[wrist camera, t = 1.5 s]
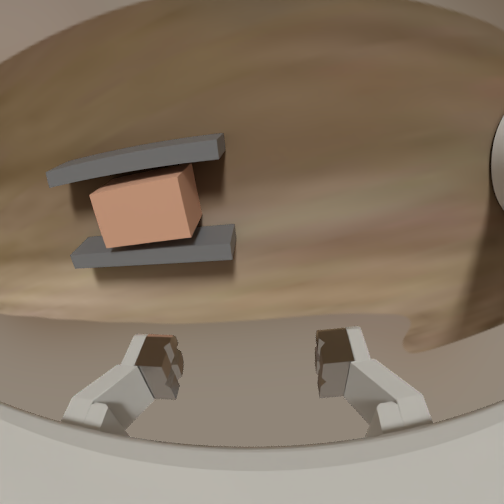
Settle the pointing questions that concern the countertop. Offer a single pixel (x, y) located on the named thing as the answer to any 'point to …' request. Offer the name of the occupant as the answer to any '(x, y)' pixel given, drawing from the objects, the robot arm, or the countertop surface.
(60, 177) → the channel
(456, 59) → the countertop surface
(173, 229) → the block
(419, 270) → the countertop surface
